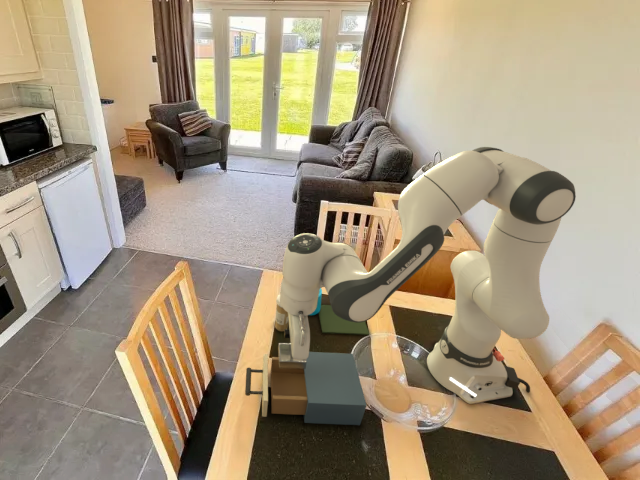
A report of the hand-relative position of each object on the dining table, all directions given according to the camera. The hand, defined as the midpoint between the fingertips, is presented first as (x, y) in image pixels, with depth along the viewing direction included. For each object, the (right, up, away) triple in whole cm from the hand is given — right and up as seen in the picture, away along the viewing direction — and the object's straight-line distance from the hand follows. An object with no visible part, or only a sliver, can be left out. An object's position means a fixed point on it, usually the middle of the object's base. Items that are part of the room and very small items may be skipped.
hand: (294, 336), depth 80 cm
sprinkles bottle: (-1, -10, +29) cm, 31 cm away
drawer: (-4, -20, +8) cm, 21 cm away
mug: (+8, -6, +37) cm, 38 cm away
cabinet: (+10, -21, +8) cm, 25 cm away
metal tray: (0, -8, +4) cm, 9 cm away
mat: (+21, -9, +32) cm, 40 cm away
